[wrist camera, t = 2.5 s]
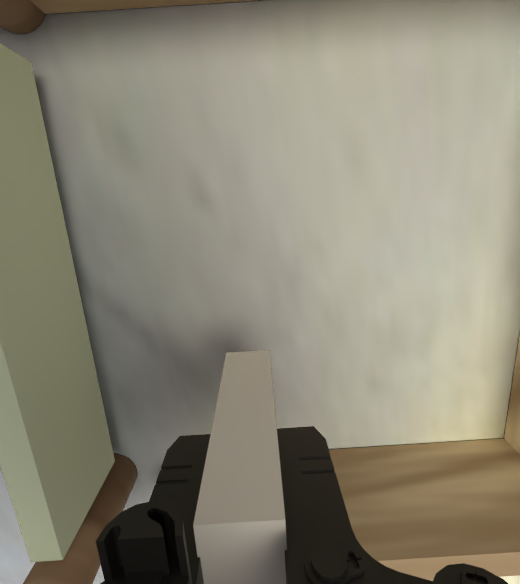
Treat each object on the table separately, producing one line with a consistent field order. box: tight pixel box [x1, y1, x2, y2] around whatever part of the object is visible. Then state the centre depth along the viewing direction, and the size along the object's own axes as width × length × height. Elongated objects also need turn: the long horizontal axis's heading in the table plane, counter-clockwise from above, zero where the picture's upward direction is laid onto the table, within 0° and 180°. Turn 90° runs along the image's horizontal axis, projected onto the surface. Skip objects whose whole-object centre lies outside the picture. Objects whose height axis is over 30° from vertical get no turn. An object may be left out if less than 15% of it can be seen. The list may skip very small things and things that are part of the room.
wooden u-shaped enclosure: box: [0, 0, 520, 584], centre depth 12 cm, size 24×24×8 cm
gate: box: [0, 44, 115, 562], centre depth 12 cm, size 18×2×7 cm, turn 4°
